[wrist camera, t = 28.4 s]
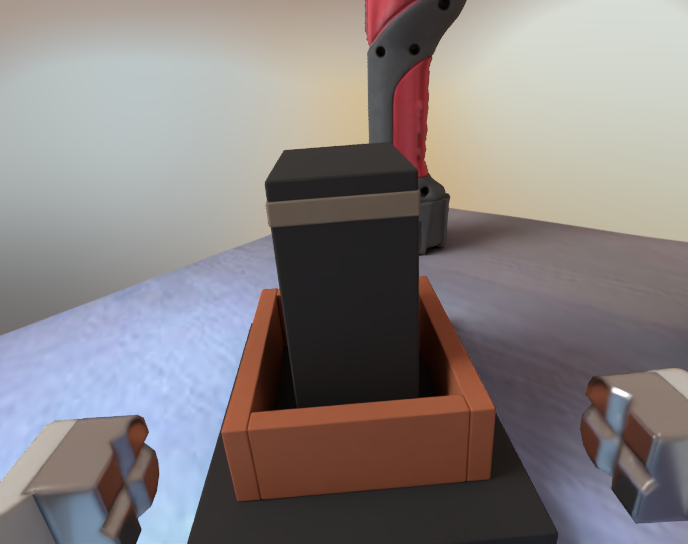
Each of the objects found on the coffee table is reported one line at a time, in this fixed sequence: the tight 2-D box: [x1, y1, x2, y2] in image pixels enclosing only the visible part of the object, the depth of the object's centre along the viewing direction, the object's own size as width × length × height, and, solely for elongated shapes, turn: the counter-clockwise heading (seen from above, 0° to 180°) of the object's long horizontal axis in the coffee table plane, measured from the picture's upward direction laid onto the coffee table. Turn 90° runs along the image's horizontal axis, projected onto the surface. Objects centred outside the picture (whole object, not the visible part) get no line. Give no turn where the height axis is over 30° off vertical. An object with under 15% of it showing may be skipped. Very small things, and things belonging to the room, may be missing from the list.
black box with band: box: [265, 142, 420, 409], centre depth 17 cm, size 4×6×10 cm
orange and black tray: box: [187, 276, 558, 544], centre depth 19 cm, size 11×14×4 cm
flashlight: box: [365, 0, 466, 254], centre depth 33 cm, size 8×8×23 cm
